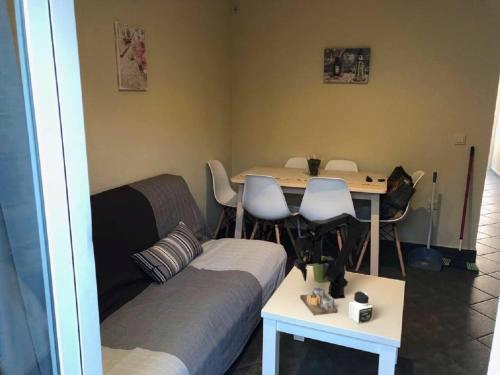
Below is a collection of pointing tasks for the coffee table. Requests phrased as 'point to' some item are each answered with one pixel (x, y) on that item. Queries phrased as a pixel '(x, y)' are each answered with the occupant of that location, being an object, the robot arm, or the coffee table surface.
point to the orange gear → (313, 299)
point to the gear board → (325, 303)
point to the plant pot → (319, 272)
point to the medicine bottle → (360, 308)
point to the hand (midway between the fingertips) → (314, 280)
